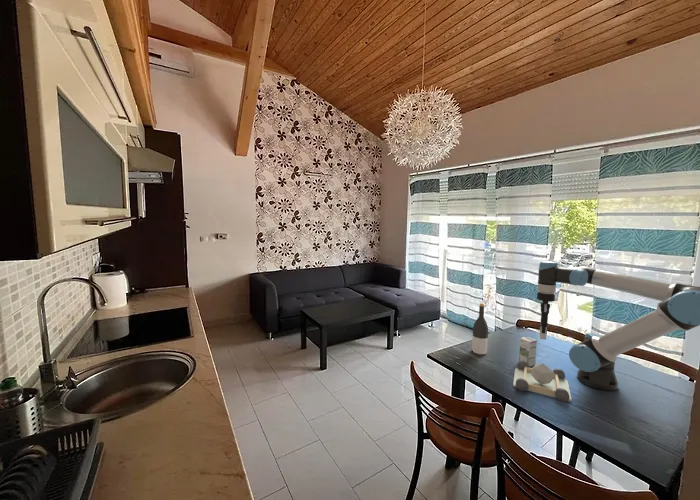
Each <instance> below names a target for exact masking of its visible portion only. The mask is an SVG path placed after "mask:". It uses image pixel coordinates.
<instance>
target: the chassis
mask: <svg viewBox="0 0 700 500" xmlns="http://www.w3.org/2000/svg"><path fill="white" fill-rule="evenodd" d="M532 368H533V367H530V366H529V364H528V363H527V362H525V361H520V362H519V361H518V363H517V367H515V368H514V369H515V370H514V375H513V376H514V377H513V383H512V387H513V388H516V389H517V390H519V391H520V392H526V391H527V392H528V391H529V392H532V393H536V394H539V395H544V396H546V397H551V398H553V399H557V400H558V401H559V402H561V403H565V402H570V403H572V401H573V400H572V396H571V395H572V394H571V391H570V386H569V381H568V380H567V379H566V374H565V372H564V370H562V369H561V368H554V369H553V370H552V371H553V372H554V375H553V380H552V381H551V382H550V383H549V384H541V383H539V382H538V381H536V380H535V379H534V377H533V376H532V375H531V373H532Z"/></svg>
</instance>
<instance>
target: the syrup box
mask: <svg viewBox="0 0 700 500" xmlns="http://www.w3.org/2000/svg"><path fill="white" fill-rule="evenodd" d="M537 341H538V340H537V339H534V338H532V337H529V336H523V337H520V340H519V355H518V356H519V357H518V358H519V359H518V363H519V362H520V361H525V362H527V363H528V364H529V367H532V366H533V367H534V366H535V365H536V360H537V359H536V356H537V346H538V344H537Z"/></svg>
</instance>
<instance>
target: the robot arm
mask: <svg viewBox="0 0 700 500" xmlns="http://www.w3.org/2000/svg"><path fill="white" fill-rule="evenodd" d="M538 266H539V267H538V274H537V275H538V279H537V284H536V287H537V293H536V299H537V300H538V301H541V302H540V305H539V306H540V313H541V314H540V320H539V321H540V324H539V325H538V327H539V339H540V340H545V341H546V340H547V331H548V326H549V323H548V322H549V321H548V320H549V314H550V308H551V304H550V302H551V303H552V302H555V301H556V294H555V293H556V291H557V283H559V284H560V283H561V284H566V285H573V286H580V287H583V286H586V285H587V284H589V285H593V286H597V287H601V288H606V289H611V290H615V291H619V292H623V293H626V294H630V295H634V296H640V297H642V298H647V299H651V300H654V301H659V302H658V303H657V306H656V307H657V308H656V309H655V310H653V311H650V312H649V313H646V314H644V315H642V316H639V317H638V318H637V319H634V320H631V321H630V322H628V323H627V324H624V325H622V326H620V327H618V328H615V329H614V330H612V331H610V332H608V333H606V334H604V335H603V334H599V333H593V332H587V333H585V335H584V336H583V337H584V340H583V341H581V342H580V343H579V342H578V344H574V345H572V346H571V348H570V349H569V351H568V357H569V359H570V362H571V363H572V364H573V366H574V367H576V368H577V369H578V370H577V372H576V373H577V374H576V378H577V380H579V382H581V383H583V384H585V385H586V386H590V387H592V388H595V389H597V390H602V391H616V390H618V387H619V384H618V383H619V382H618V379H617V376H616V372H615V365H616V361H617V356H620V355H622V354H625V353H627V352H628V351H632V350H633V349H635V348H637V347H640V346H642V345H645V344H647V343H649V342H652V341H654V340H656V339H659V338H661V337H663V336H666V335H667V334H671V333H673V332H674V331H677V330H681V331H689V330H692V329H694V328H697V327H699V326H700V286H695V285H690V284H683V283H677V282H676V283H673V284H670V283H665V282H660V281H655V280H650V279H645V278H640V277H636V276H630V275H626V274H621V273H615V272H613V271H612V272H611V271H605V270H601V269H596V268H593V267H590V266H587V265H579V266H577V267H576V266H575V267H563V266H559V264H558V262H557V261H555V262H554V261H548V260H547V261H545V260H543V261H540V262H539V265H538Z"/></svg>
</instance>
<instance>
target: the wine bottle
mask: <svg viewBox="0 0 700 500" xmlns="http://www.w3.org/2000/svg"><path fill="white" fill-rule="evenodd" d="M478 307H479V309H478V310H479V312H478V316H477V319H476V320H475V322H474V324H473V327H472V342H471V343H472V345H471V352H472V351H473V352H474V353H475V354H474V353H473V352H472V353H473V354H474V355H477V354H478V356H486V355H487V354H488V340H489V327H488V323H487V321H486V319H485V315H484V313H485V303H483V302H480V303H479V306H478ZM485 354H486V355H485Z"/></svg>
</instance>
